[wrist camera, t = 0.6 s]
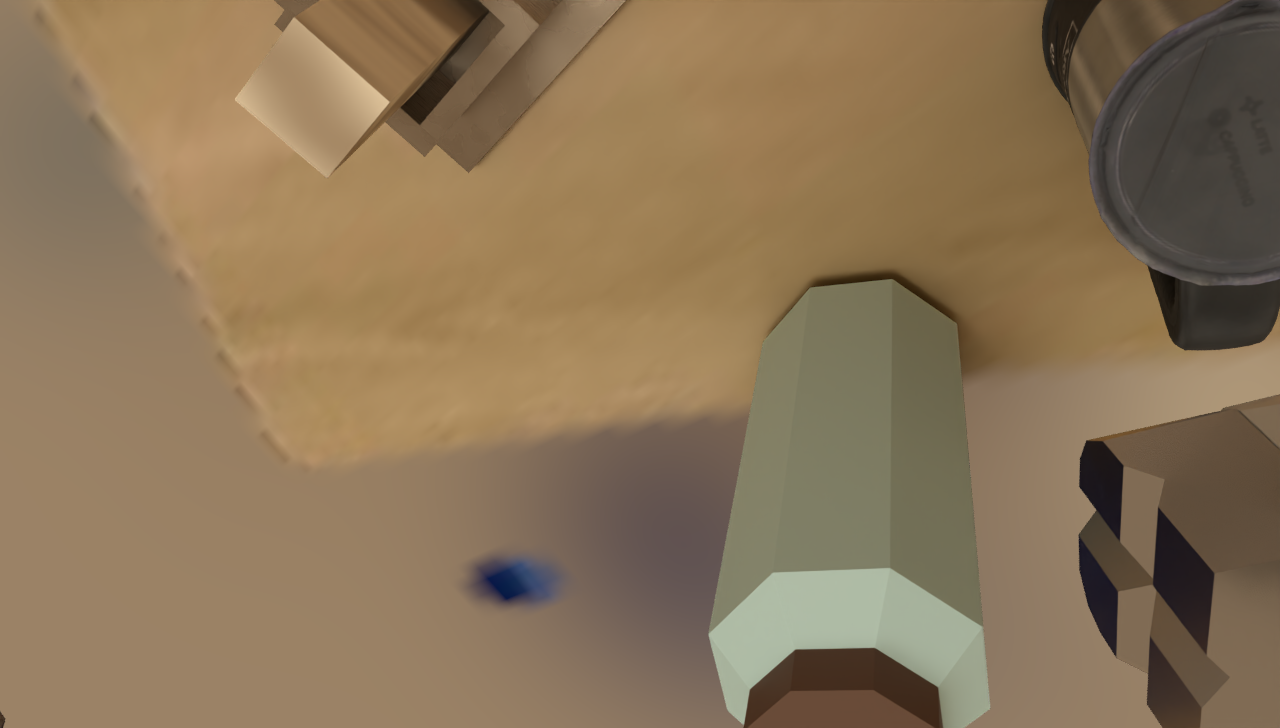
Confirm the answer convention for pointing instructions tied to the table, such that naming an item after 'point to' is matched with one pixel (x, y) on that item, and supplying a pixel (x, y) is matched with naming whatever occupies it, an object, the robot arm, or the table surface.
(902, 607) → the water bottle
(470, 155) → the tan hollow square block
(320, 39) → the maple bar
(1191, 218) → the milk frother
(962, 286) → the table surface
